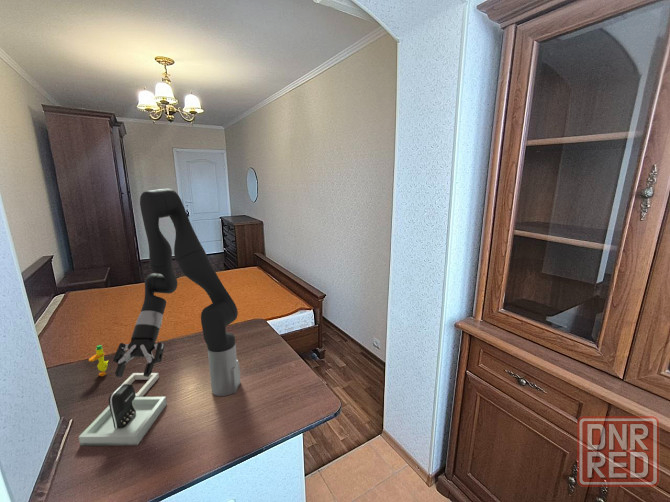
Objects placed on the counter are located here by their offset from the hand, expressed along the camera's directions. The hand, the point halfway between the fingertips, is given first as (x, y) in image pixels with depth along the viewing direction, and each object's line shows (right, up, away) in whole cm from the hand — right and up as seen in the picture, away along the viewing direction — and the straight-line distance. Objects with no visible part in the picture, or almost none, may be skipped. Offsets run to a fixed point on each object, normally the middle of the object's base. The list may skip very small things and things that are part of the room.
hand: (132, 376), depth 96 cm
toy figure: (-26, -8, +21) cm, 34 cm away
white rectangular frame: (-7, -10, +13) cm, 18 cm away
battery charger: (0, -13, -2) cm, 13 cm away
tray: (0, -14, -2) cm, 14 cm away
